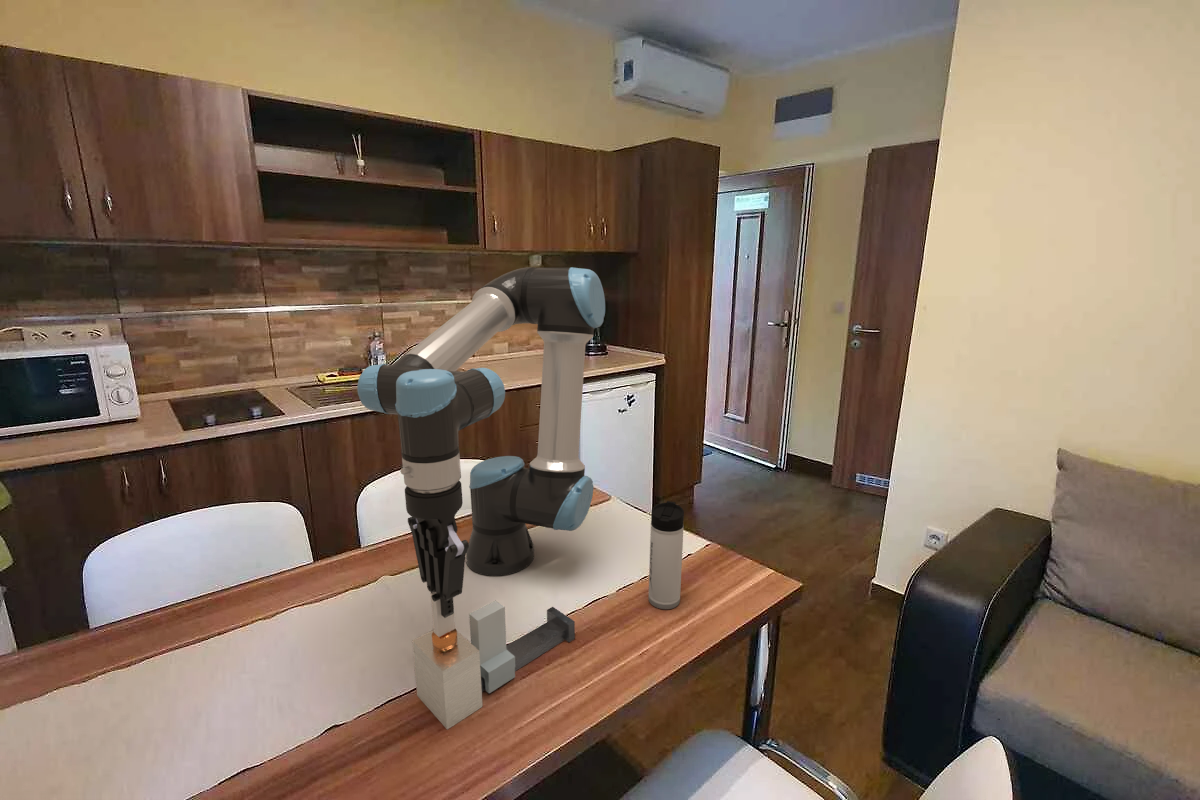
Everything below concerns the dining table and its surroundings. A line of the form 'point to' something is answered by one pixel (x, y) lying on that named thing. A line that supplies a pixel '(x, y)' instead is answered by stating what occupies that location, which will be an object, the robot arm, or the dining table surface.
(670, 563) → the travel mug
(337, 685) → the dining table surface
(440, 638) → the knob
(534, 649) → the rail
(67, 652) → the dining table surface
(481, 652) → the carriage
